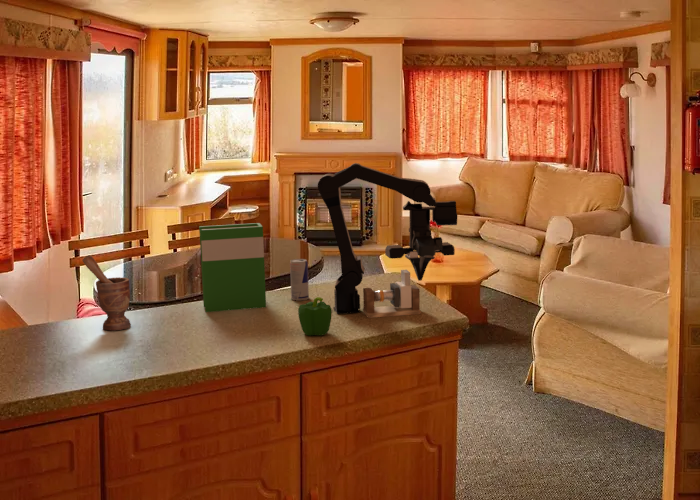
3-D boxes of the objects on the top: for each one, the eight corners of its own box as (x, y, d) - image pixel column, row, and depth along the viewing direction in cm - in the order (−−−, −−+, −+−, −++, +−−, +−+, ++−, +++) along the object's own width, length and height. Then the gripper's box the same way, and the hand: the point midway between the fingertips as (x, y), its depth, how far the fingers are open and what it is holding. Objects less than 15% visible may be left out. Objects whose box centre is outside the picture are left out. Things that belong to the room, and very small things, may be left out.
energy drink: (312, 297, 237) (311, 259, 235) (302, 301, 233) (300, 262, 230) (298, 295, 240) (296, 258, 238) (287, 299, 235) (286, 261, 233)
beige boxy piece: (401, 308, 215) (400, 273, 214) (395, 302, 221) (395, 269, 220) (411, 307, 216) (411, 273, 214) (405, 302, 222) (405, 268, 220)
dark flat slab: (395, 307, 215) (395, 287, 214) (390, 302, 221) (390, 283, 220) (399, 307, 215) (399, 287, 214) (394, 302, 221) (394, 283, 220)
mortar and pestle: (87, 334, 203) (80, 260, 200) (88, 325, 211) (82, 254, 208) (132, 330, 206) (127, 256, 203) (132, 321, 214) (127, 251, 211)
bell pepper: (294, 332, 201) (293, 294, 200) (323, 327, 205) (322, 291, 203) (306, 340, 194) (305, 301, 192) (336, 335, 197) (335, 297, 195)
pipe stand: (368, 317, 214) (367, 293, 212) (362, 311, 220) (362, 287, 219) (420, 313, 216) (420, 289, 215) (413, 307, 223) (413, 284, 222)
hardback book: (205, 312, 223) (200, 230, 219) (203, 306, 230) (199, 226, 226) (266, 307, 227) (262, 226, 223) (262, 301, 234) (259, 223, 230)
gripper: (394, 231, 206) (394, 288, 209) (461, 228, 209) (460, 284, 212) (384, 225, 217) (385, 280, 220) (448, 222, 220) (448, 276, 223)
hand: (419, 280), depth 218 cm, fingers closed
